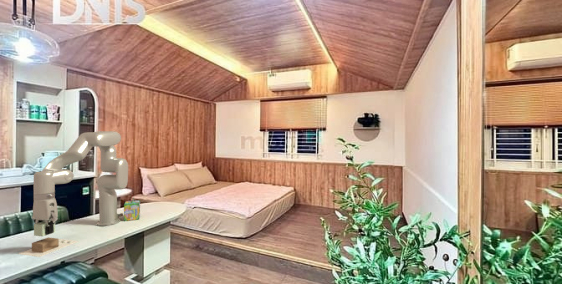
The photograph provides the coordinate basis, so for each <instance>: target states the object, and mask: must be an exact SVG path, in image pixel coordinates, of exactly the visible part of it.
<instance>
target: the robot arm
mask: <svg viewBox="0 0 562 284" xmlns="http://www.w3.org/2000/svg"><path fill="white" fill-rule="evenodd" d="M121 140H122V136H121V133H119V132H118V131H116V130H115V131H114V130H113V131H112V130H111V131H106V130H102V131H101V130H99V131H94V132H93V131H92V132H91V131H89V132H88V131H87V132H82V133H81V134H80V135H78V137H77V138H76V140H75V141H74V142H73V143H72V145H71V146H70V147H69V148H68V149H67V151H65V152H63V153H61V154H60V155H58V156H56V157H54V158H52V160H50V161H49V162H48V163H47V164H46V165H45V167H44V168H43V169H42V170H41V171H37V172H34V174H33V206H32V217H31V218H32V220H33V222H34V224H36V223H40V222H44V221H45V222H46V225H47V226H46V236H49V235H51V233H52V234H54V233H53V232H54V224H55V225H56V221H58V219H59V218H58V215H59V213H58V203H57V200H56V198H55V196H56V194H55V193H56V190H55V188H56V187H55V185H64V184H68V183H70V182H71V181H73V179H74V177H75V175H74V173H73V171H71V170H70V169H66V168H65V167H66V166H69V165H72V164H75V163H77V162H80V161H82V160H84V159H85V158H86V157H87V155H88V153H89V152H90V151H91V149H92V148H94V147H96V148H98V149H99V151H100V171H101V172H104V173H109V174H102V175H101V176H99V177H98V178H97V180H96V186H97V190H98V204H99V205H98V207H99V211H98V213H99V221H97V222H96V226H97V227H98V226H99V227H105V226H106V227H107V226H112V225H115V224H118V223H120V221H121V219H120V217H122V216H123V217H124V212H121V213H118V200H117V199H118V195H117V192H116V191H117V190H124V189H125V188H126V187H127V186H128V182H129V163H128V161H127V159H125V158H124V157H123V158H122V157H117V148H116V147H115V145H118V144H119V143H120V142H121ZM111 173H112V174H111ZM114 173H115V174H114ZM49 221H50V222H49ZM48 234H49V235H48Z"/></svg>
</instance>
